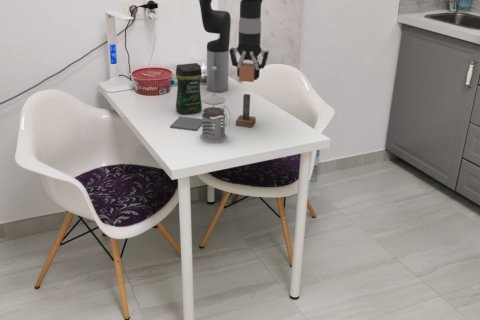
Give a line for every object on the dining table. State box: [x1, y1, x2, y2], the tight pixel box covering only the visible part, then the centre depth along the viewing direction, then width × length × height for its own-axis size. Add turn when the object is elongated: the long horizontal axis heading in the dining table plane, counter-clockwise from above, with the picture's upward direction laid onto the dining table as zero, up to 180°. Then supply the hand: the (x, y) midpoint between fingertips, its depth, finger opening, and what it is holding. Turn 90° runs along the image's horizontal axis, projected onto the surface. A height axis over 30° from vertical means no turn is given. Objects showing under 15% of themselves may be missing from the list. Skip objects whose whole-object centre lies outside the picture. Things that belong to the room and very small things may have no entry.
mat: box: [169, 116, 203, 132], centre depth 194 cm, size 10×10×1 cm
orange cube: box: [238, 62, 255, 83], centre depth 187 cm, size 5×5×5 cm
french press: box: [198, 67, 231, 144], centre depth 178 cm, size 10×12×25 cm
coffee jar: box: [175, 62, 203, 115], centre depth 202 cm, size 10×8×19 cm
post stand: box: [235, 93, 257, 128], centre depth 194 cm, size 6×6×11 cm
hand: (248, 78), depth 189 cm, fingers closed on orange cube, 5 cm apart
